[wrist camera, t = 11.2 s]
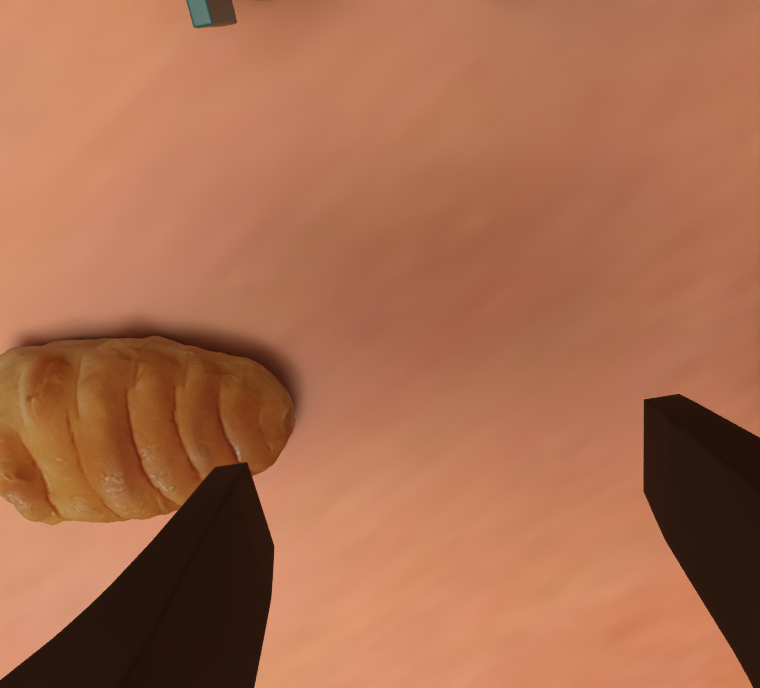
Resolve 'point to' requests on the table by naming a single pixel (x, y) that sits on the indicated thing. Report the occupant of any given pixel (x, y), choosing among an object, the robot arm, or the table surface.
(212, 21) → the marker
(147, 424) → the pastry
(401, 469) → the table surface
